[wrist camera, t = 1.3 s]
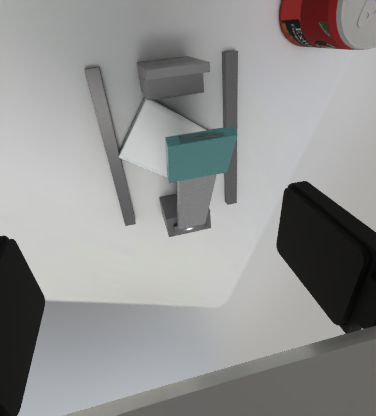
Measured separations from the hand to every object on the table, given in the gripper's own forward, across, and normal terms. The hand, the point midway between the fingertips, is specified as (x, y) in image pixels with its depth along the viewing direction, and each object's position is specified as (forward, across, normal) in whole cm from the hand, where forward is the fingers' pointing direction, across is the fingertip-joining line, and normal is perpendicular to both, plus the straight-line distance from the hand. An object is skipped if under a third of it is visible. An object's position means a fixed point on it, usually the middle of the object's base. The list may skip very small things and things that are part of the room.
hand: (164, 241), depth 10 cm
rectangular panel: (+18, -5, +8) cm, 20 cm away
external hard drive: (+28, -5, +7) cm, 30 cm away
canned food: (+28, -23, -7) cm, 37 cm away
